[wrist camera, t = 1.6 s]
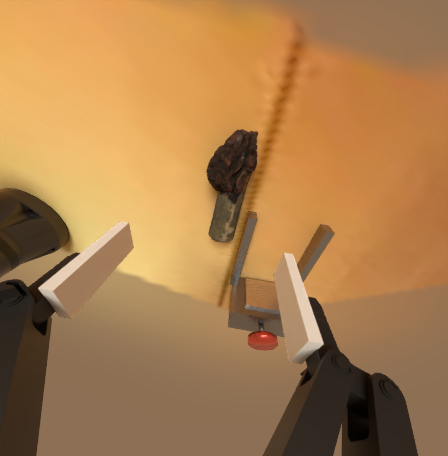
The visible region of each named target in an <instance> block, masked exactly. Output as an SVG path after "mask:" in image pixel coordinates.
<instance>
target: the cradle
mask: <svg viewBox="0 0 448 456" xmlns="http://www.w3.org/2000/svg"><path fill="white" fill-rule="evenodd" d="M256 222H257V213H256V212H252V211H248V214H247V218H246V221H245V225H244V229H243V233H242V236H241V240H240V244H239V248H238V251H237V255H236V259H235V263H234V266H233V270H232V274H231V282H230V284H232V289H231V294H230V308H229V322H228V327H231V328H236V329H242V330H247V331H253V332H252V333H250V334H249V335H248V345H249V346H250V347H252V348H254V349H257V350H272V349H274V348H276V347H277V346H278V342H277V337H276V336H280V337H284V332H283V327H282V321H281V315H280V310H279V304H278V298H277V292H276V287H275V283H272V282H266V281H261V280H256V279H250V278H241V277H239V276H240V273H241V270H242V267H243V264H244V260H245V257H246V254H247V251H248V248H249V244H250V241H251V238H252V235H253V231H254V228H255V225H256ZM334 234H335V233H334V232H333V231H332V229H331V228H330V227H329V226H328V225H322V224H320V226H319V228H318V230H317V231H316V233H315V235H314V237H313V238H312V240H311V242H310V244H309V245H308V247H307V249H306V251H305V252H304V254H303V256H302V258H301V260H300V261H299V263H298V265H297V267H298V270H299V273H300V276H301V279H302V282H304V280H305V279H306V277H307V275H308V274H309V272H310V271H311V269H312V268H313V266H314V265H315V263H316V262H317V260H318V259H319V257H320V255H321V254H322V252H323V251H324V249H325V248H326V246H327V245H328V243H329V242H330V240H331V239H332V237H333V235H334Z"/></svg>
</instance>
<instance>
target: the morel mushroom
mask: <svg viewBox="0 0 448 456" xmlns="http://www.w3.org/2000/svg"><path fill="white" fill-rule="evenodd" d="M257 135H258V132H253V131H250V132H247V131H245V130H237V131H235V132H234V133H233V134H232V135H231V136H230V137H229V138H228V139H227V140H226V142H225V144H224V145H222V146H220V147H219V148H218V149H217V150H216V151H215V153H214V156H213V157H212V158H211V159H210V162H209V165H208V168H207V173H208V174H207V177H208V180H209V182H210V184H211V185H212V186H213V188H214V189H215V190H217V191H220V194H219V195H218V196H217V200H216V204H215V209H214V214H213V218H212V222H211V226H210V230H209V236H210V237H211V238H212V239H213V240H214V241H217V242H229V241H231V240H232V239H233V237H234V233H235V229H236V225H237V221H238V217H239V213H240V209H241V205H242V201H243V198H244V194H245V190H246V187H247V183H248V181H249V178H250V176H251V173H252V171H253V170H255V168H256V165H257V151H256V150H257V145H256V142H257V140H256V138H257Z"/></svg>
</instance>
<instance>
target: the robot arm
mask: <svg viewBox="0 0 448 456" xmlns="http://www.w3.org/2000/svg"><path fill="white" fill-rule="evenodd" d="M68 239H69V234H68V230H67V228H66V225H65V224H64V222H63V221H62V219H61V218H60V217H59V216H58V214H57V213H56V212H55V211H54V210H53V209H51V208H50V207H49V206H48V205H47V204H45V203H44V202H42V201H41V200H39V199H38V198H36V197H34V196H32V195H30V194H28V193H26V192H23V191H20V190H17V189H11V188H4V189H0V278H1V277H2V276H3V275H5V274H7V273H8V272H10V271H11V270H13V269H14V268H16V267H17V266H19V265H20V264H23V263H25V262H28V261H31V260H33V259H36V258H39V257H42V256H44V255H47V254H50V253H53V252H55V251H57V250H58V249H60V248H61V247H63V246H64V245H65V244H66V243H67V242H68ZM133 248H134V246H133V241H132V236H131V231H130V226H129V223H127V222H122V221H119V222H118V223H117V224H116V225H115V226H113V227H112V228H111V229H110V230H108V231H107V232H106V233H105V234H104V235H102V236H101V237H100V238H99V239H97V240H96V241H95V242H94V243H93V244H91V245H90V246H89V247H88V248H86V249H85V250H84V251H83V252H82V253H77V252H76V253H74V254H72V255H70V256H68V257H66V258H65V259H64V260H63V261H61V262H60V263H59V264H57V265H56V266H55V267H54V268H53V269H51V270H50V271H48V272H47V273H46V274H44V275H43V276H42V277H41V278H39V279H38V280H37V281H36V282H34V283H33V284H32V285H30V286H29V287H27V286H26V285H25V284H24V282H23V281H21V280H17V279H13V280H7V281H4V282H1V283H0V456H36V453H37V445H38V436H39V427H40V418H41V410H42V401H43V392H44V384H45V375H46V367H47V358H48V349H49V340H50V332H51V323H52V318H51V315H52V314H53V313H54V312H56V313H57V314H58V316H59V317H64V318H68V319H72V318H73V317H74V316H75V315H76V314H77V313H78V311H79V310H80V309H81V308H82V307H83V306H84V305H85V303H86V302H87V301H88V300H89V299H90V297H91V296H92V295H93V294H94V293H95V292H96V291H97V290H98V288H99V287H100V286H101V285H102V284H103V283H104V281H105V280H106V279H107V278H108V277H109V276H110V274H111V273H112V272H113V271H114V270H115V269H116V268H117V266H118V265H119V264H120V263H121V262H122V261H123V260H124V258H125V257H126V256H127V255H128V254H129V253H130V251H131V250H132V249H133ZM273 275H274V281H275V287H276V292H277V298H278V304H279V310H280V315H281V321H282V327H283V332H284V338H285V344H286V350H287V355H288V361H289V362H293V363H299V364H302V363H303V362H304V361H305V360H306V363H307V368H306V369H305V370H304V371H303V372H302V373H301V376H302V378H301V380H300V382H299V384H298V386H297V388H296V390H295V392H294V394H293V396H292V398H291V400H290V402H289V404H288V406H287V408H286V410H285V412H284V414H283V416H282V418H281V420H280V422H279V424H278V426H277V428H276V430H275V432H274V434H273V436H272V438H271V440H270V442H269V444H268V446H267V448H266V450H265V453H264V454H263V456H333V454H334V450H335V446H336V443H337V439H338V435H339V431H340V428H341V424H342V456H418V454H417V449H416V444H415V440H414V435H413V431H412V427H411V422H410V418H409V413H408V409H407V405H406V401H405V398H404V396H403V394H402V392H401V391H400V389H399V387H398V386H397V385H396V384H395V383H394V382H393V381H392V380H391V379H389V378H388V377H387V376H386V375H383V374H381V373H375V374H372V375H370V374H368V373H366V372H364V371H363V370H361V369H359V368H357V367H355V366H354V365H352V364H351V363H350V361H349V359H348V358H347V357H346V356H345V355H344V354H342V353H341V352H340V351H339V349H338V347H337V344H336V342H335V339H334V337H333V334H332V332H331V329H330V327H329V324H328V322H327V319H326V317H325V315H324V312H323V309H322V307H321V305H320V304H319V302H318V301H317V300H316V298H312V297H308V296H307V293H306V290H305V288H304V285H303V282H302V279H301V276H300V273H299V270H298V267H297V264H296V261H295V259H294V256H293V254H289V253H283V256H282V258H281V260H280V262H279V264H278V266H277V268H276V270H275V272H274V274H273Z"/></svg>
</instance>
